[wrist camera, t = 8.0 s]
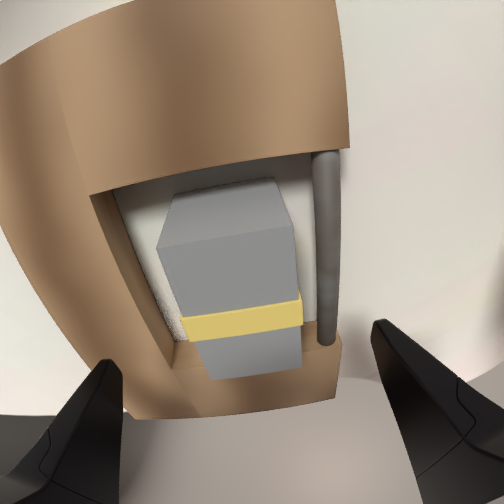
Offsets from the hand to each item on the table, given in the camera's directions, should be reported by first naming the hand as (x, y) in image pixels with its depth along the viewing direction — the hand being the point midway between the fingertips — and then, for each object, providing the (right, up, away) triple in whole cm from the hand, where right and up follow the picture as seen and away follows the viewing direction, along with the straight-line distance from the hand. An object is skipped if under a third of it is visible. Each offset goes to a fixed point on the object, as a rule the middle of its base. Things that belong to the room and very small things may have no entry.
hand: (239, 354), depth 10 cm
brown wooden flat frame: (-3, +3, +4) cm, 6 cm away
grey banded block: (0, +3, +4) cm, 5 cm away
